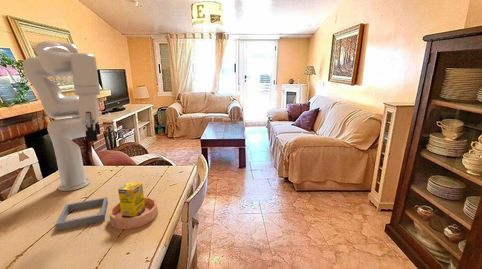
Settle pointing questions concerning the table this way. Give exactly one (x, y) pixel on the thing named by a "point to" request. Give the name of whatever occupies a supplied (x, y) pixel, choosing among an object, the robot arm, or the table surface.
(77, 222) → the open square frame
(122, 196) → the supplement box
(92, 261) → the table surface
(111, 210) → the bowl
